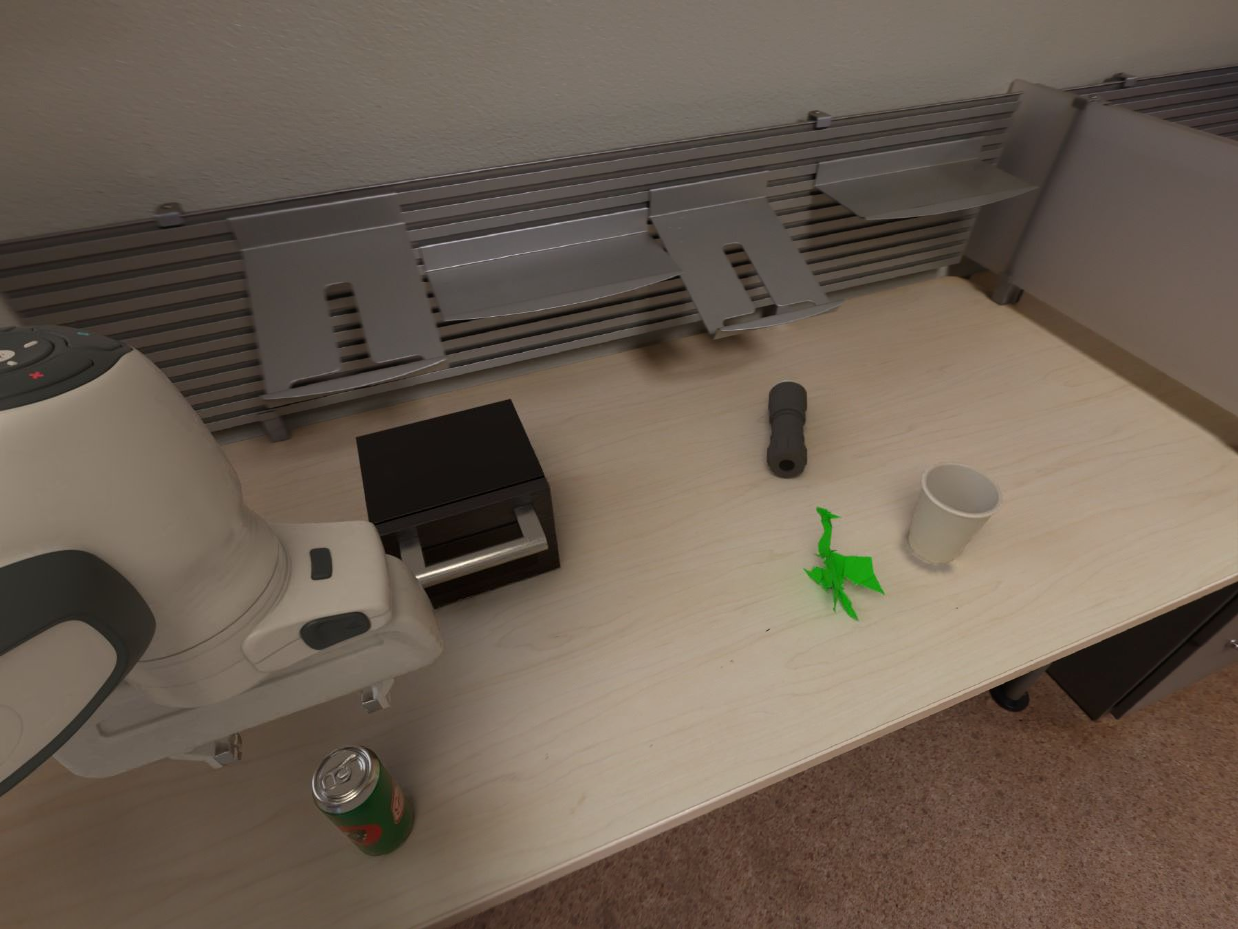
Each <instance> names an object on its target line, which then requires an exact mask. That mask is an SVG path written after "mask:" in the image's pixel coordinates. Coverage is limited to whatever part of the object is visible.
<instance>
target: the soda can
mask: <svg viewBox="0 0 1238 929" xmlns="http://www.w3.org/2000/svg"><path fill="white" fill-rule="evenodd" d="M311 783H312V784H311V796H312V800H313V803H314V804H315V806H316V807H317V809H318V810H320V812H322V814H323V815H324V816H325V817H326V818H328V820H329V821H330V822H331V823H332V824H333V825H334V826H335V827H336V828H337V829H338V830H340V832H342V834H343V835H344V836H345V837H346V838H347V839H348V840H349V841H350V842H351V843H352V844H353V845H354V846H355V847H356V848H357V849H358V850H359V851H360V852H361V853H363V854H364V855H366V856H369V857H382V856H386V855H389V854H391V853H392V852H395V851H396V850H397V849H398V848H399V847H400V846H401V845H403V843H404V842H405V841H406V839H407V838H408V837H409V834H410V832H411V830H412V826H413V822H414V812H413V811H414V809H413V807H412V804H411V802H410V801H409V800H408V798H407V796H406V795H405V794H404V792H403V791H402V789H401V788H400V786H399V785H398V784H397V782H396V780H394V778H393V776H392V774H391V773H390V772H389V770H388V769H387V767H386V766H385V765H384V763H383V761H382V760H381V759H380V758H379V756H378V755H377V753H376V752H374V750H372V749H371V748H369V747H367V746H363V745H356V744H346V745H342V746H339V747H337V748H335V749H333V750H331V751H330V752H329V753H327V754H326V755H325V756H324V757H323V758H322V759H321V760H320V762H319V763H318V765H317V767H316V768H315V770H314V773H313V776H312V782H311Z"/></svg>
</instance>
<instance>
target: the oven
mask: <svg viewBox="0 0 1238 929" xmlns="http://www.w3.org/2000/svg"><path fill="white" fill-rule="evenodd" d="M512 400H513V399H512V398H507V399H503V400H499V401H496V402H491V403H487V404H483V405H479V406H475V407H471V408H466V409H463V410H459V411H455V412H451V413H447V414H444V415H443V414H442V415H439V416H434V417H430V418H427V419H423V420H419V421H415V422H411V423H407V424H403V425H399V426H393V427H390V428H386V429H383V430H378V431H375V432H370V433H365V434H362V435H358V436H356V437H355V443H356V449H357V450H356V451H357V456H358V463H359V467H360V468H359V469H360V474H361V481H362V489H363V494H364V495H363V496H364V500H365V508H366V514H367V521H368V522H371V523H372V524H373V525H374V526H375V525H378V524H382V523H385V522H389V521H392V520H396V519H399V518H403V517H406V516H410V515H413V514H417V513H420V512H424V511H427V510H431V509H434V508H438V507H441V506H445V505H449V504H452V503H456V502H459V501H463V500H466V499H470V498H473V497H477V496H480V495H484V494H487V493H491V492H494V491H498V490H501V489H505V488H508V487H512V486H515V485H519V484H522V483H526V482H529V481H533V480H536V479H540V478H543V477H546V474H545V472H544V469H543V468H542V465H541V463H540V461H539V458H538V456H537V454H536V451H535V450H534V447H533V445H532V443H531V441H530V438H529V436H528V433H527V432H526V429H525V427H524V425H523V422H522V420H521V418H520V416H519V413H518V411H517V409H516V407H515V404H514V403H513V401H512Z"/></svg>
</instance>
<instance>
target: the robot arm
mask: <svg viewBox="0 0 1238 929" xmlns="http://www.w3.org/2000/svg"><path fill="white" fill-rule="evenodd" d="M443 651H444V645H443V639H442V634H441V629H440V626H439V621H438V617H437V615H436V611H435V609H433V606H432V604H431V602H430V600H429V598H428V596H427V594H426V592H425V590H424V589H423V587H422V585H421V584H420V582H419V581H418V579H417V578H416V576H415V575H414V574H413V572H412V571H411V570H410V568H409V567H408V566H407V565H406V564H405V563H404V562H403V561H401V560H400V559H398V558H396V557H394V556H392V555H388V554H385V550H384V547H383V544H382V541H381V538H380V536H379V533H378V531H377V529H376V527H375V526H374V525H373V524H372V523H371V522H369V521H368V520H345V521H343V520H342V521H330V522H329V521H328V522H305V523H304V522H300V523H299V522H298V523H297V522H293V523H292V522H272V521H266V520H265V519H264V518H263V517H262V516H261V515H260V514H259V513H257V512H256V511H255V510H254V509H252V508H250V507H249V506H248V505H247V504H246V502H245V500H244V494H243V487H242V483H241V480H240V478H239V475H238V472H237V470H236V469H235V467H234V466H233V464H232V463H231V461H230V460H229V458H228V456H227V455H226V454H225V452H224V450H223V449H222V447H221V446H220V444H219V443H218V441H217V440H216V438H215V436H213V434H212V433H211V431H210V429H209V428H208V427H207V426H206V424H205V423H204V421H203V420H202V418H201V417H200V416H199V414H198V413H197V412H196V411H195V409H194V408H193V407H192V405H191V404H190V402H188V400H187V399H186V398H185V396H184V395H183V394H182V393H181V391H180V390H179V389H178V388H177V387H176V386H175V384H174V383H173V382H172V381H171V379H170V378H168V377H167V375H166V374H165V373H164V372H163V371H162V370H161V369H160V368H159V367H158V366H157V364H155V363H154V362H153V361H152V360H151V359H150V358H149V357H147V356H146V355H145V354H144V353H143V352H142V351H139V349H137V348H135V347H133V346H132V345H130V344H127V343H126V342H124V341H121V340H118V339H116V338H113V337H109V336H107V335H103V334H100V333H97V332H94V331H91V330H87V329H82V328H78V327H71V326H64V325H58V324H43V325H26V326H25V325H24V326H16V325H10V326H3V327H2V326H1V327H0V798H1V797H3V796H4V795H6V794H7V793H9V792H10V791H11V790H13V789H14V788H15V787H17V785H19V784H20V783H22V781H24V780H25V779H27V778H28V777H29V776H30V775H32V774H33V773H34V772H35V771H36V770H37V769H38V768H40V767H41V766H42V765H43V764H44V763H46V761H47V760H49V759H50V758H51V757H53V758H54V759H55V760H56V761H57V762H58V763H59V764H60V765H61V766H63V767H64V768H65V769H66V770H68V771H69V772H71V773H72V774H73V775H75V776H77V777H80V778H88V779H108V778H111V777H114V776H117V775H120V774H123V773H125V772H129V771H131V770H135V769H137V768H140V767H144V766H146V765H148V764H152V763H154V762H157V761H160V760H162V759H166V758H168V759H170V760H177V761H191V762H205V763H206V764H208V765H209V766H210V767H211V768H212V769H214V770H219V769H221V768H223V767H225V766H229V765H231V764H234V763H237V762H239V761H241V760H242V757H243V752H242V751H241V749H242V747H243V740H242V736H241V735H240V732H243V731H246V730H249V729H251V728H254V727H257V726H260V725H263V724H265V723H268V722H271V721H274V720H277V719H280V718H284V717H286V716H289V715H291V714H294V713H297V712H300V711H303V710H305V709H308V708H311V707H314V706H317V705H321V704H322V703H326V702H329V701H332V700H334V699H337V698H341V697H343V696H346V695H349V694H352V693H355V692H357V691H360V692H361V695H360V699H361V705H362V706H363V708H364V710H366V713H367V714H368V715H370V714H372V713H375V712H378V711H381V710H385V709H387V708H389V707H392V701H391V695H390V690H391V688H392V686H393V684H394V683H395V681H396V679H395V678H397V677H400V676H403V675H405V674H410V673H412V672H415V671H418V670H420V669H424V668H426V667H429V666H432V665H433V664H434V663H435V662H436V661H437V660H438V658H440V656H441V654H442V653H443Z"/></svg>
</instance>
